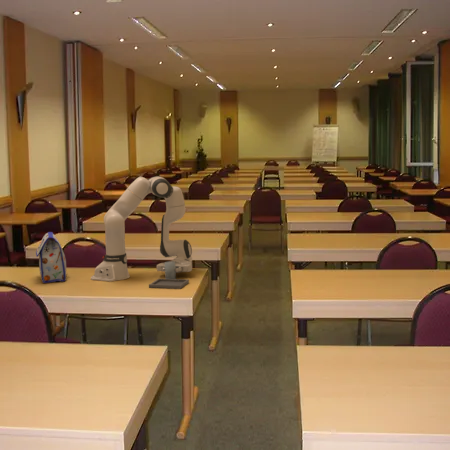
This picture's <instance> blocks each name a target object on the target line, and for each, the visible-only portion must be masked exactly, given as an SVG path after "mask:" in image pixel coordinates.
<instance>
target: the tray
mask: <svg viewBox="0 0 450 450" xmlns="http://www.w3.org/2000/svg"><path fill="white" fill-rule="evenodd" d="M189 283H190V279H184V278H183V279H182V278H181V279H179V278H178V279H177V278H176V279H165V278H157V279H155V280H153V282H151V283H149V284H148V289H167V290H169V289H170V290H171V289H172V290H173V289H174V290H181V289H183V288H184V287H185V286H187V285H188V284H189Z"/></svg>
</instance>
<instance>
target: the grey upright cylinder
mask: <svg viewBox="0 0 450 450" xmlns="http://www.w3.org/2000/svg"><path fill="white" fill-rule="evenodd" d="M164 263H165V272H164V276H165V278H164V279H177V273H176V272H175V262H174V261H172V260H167V261H165V262H164Z"/></svg>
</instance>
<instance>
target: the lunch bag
mask: <svg viewBox="0 0 450 450" xmlns="http://www.w3.org/2000/svg"><path fill="white" fill-rule="evenodd" d="M35 255H36V258H39V259H38V264H39V265H38V266H39V274H40V279H41V282H42V283H43V284H49V283H54V282H65V281H66V280H67V259H66V255H65V253H64V250H63V248H62V246H61V242H60V241H59V239H58V238H57V237H56V235H55V234H54V233H53V231H48V232H47V233H45V234H44V235H43V237H42V239H41V241H40V243H39V245H38V246H37V249H36V251H35Z"/></svg>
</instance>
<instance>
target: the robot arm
mask: <svg viewBox="0 0 450 450" xmlns="http://www.w3.org/2000/svg"><path fill="white" fill-rule="evenodd" d="M151 193H152V195H154V196H156V197H158V198H164V200H165V206H166V208H165V209H166V210H165V213H164V214H163V215H162V218H161V226H160V227H161V228H160V230H161V231H160V245H159V253H160V254H161V255H162V256H163V257H164V258H170V257H174V258H173V259H171V261H174V262H175V272H176V274H180V273H190V272H192V271H193V257H192V253H193V249H192V245H191V242H190V241H188V240H187V239H174V240H173V239H172V240H171V239H170V227H171V225H172V224H173V223H175V222H177V221H179V220H181V219H182V218H183V217H184V216H185V214H186V201H185V198H184V194H183V191H182V188H180V187H179V186H174V185H173V186H172V185H171V183H170V182H169V181H168V180H167V179H166V178H164V177H163V176H159V175H154V176H152V177H150V178H145V177H142V176H139V177H137V178H136V179H134V181H132V182H131V183H130V185H129V186H128V187H127V188H126V189H125V191H123V193H122V194H121V195H120V196H119V198H118V199H117V200H116V202H115V203H113V205H112V206H111V207H110V208H109V209H108V211H106V213H105V215H104V216H103V224H104V229H105V232H104V233H105V236H104V237H105V242H104V243H105V253H106V254H104V255H103V256H102V259H103V260H102V262H101V263H99V264H98V265H97V266H96V267H95V269H94V275H92V276H90V280H92V281H102V282H115V281H122V280H126V279H129V278H130V273H129V269H128V264H127V263H128V256H127V253H126V239H125V238H126V234H125V232H126V230H125V228H126V225H125V224H126V223H125V221H126V220H127V218H128V217H129V216H130V215H131V214H133V213H134V211H135V210H136V209H137V208H138V206H139V205H140V204H141V203H142V202H143V200H145V198H146V196H147V195H149V194H151ZM156 271H157V272H164V273H165V262H161V263H158V264H156Z"/></svg>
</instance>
